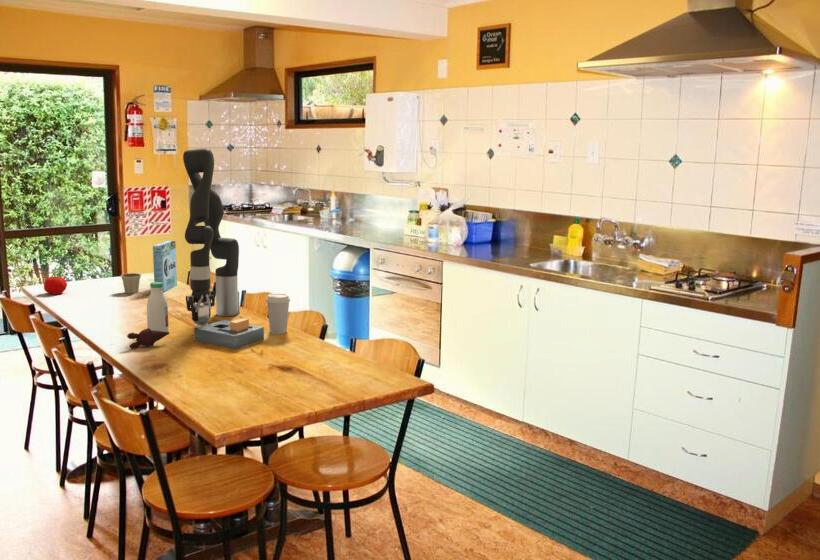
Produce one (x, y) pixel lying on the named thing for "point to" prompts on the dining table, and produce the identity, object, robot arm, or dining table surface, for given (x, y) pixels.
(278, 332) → the coffee cup
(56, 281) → the tomato
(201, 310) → the grey white cylinder
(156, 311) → the milk bottle
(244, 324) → the block
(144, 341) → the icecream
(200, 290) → the robot arm
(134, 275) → the flower pot
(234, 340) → the jig
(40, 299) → the dining table surface
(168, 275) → the gum box
